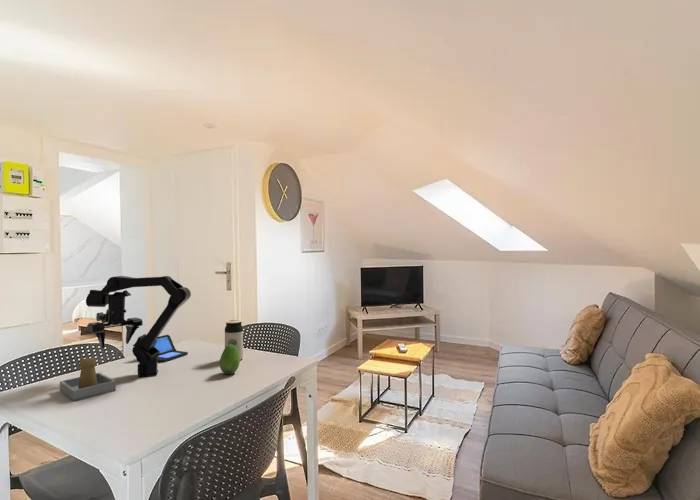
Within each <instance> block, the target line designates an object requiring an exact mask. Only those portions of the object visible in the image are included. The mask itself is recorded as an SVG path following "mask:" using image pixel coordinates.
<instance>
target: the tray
mask: <svg viewBox="0 0 700 500" xmlns="http://www.w3.org/2000/svg"><path fill="white" fill-rule="evenodd" d="M96 378H97V384H98V385H94V386H90V387H86V388H81V389H78V386H79V380H80V376H77V377H73V378H68V379H63V380H59V392H60V393H62V394H63V395H64V396H66V397H67V398H68V399H69V400H71V401H72V402H78V401H80V400H81V401H82V400H86V399H88V398H89V399H90V398H93V397H97V396H100V395H105V394H108V393H113V392H115V391H116V380H115V379H113V378H111V377H109V376H107V375H106V374H104V373H102V372H100V371H99V372H96Z"/></svg>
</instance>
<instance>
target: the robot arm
mask: <svg viewBox="0 0 700 500" xmlns="http://www.w3.org/2000/svg"><path fill="white" fill-rule="evenodd" d="M141 287H142V288H144V287H145V288H146V287H163V289H164V290H165V292H166V293H167V294H168V295H169V298H168V302H167V305H166V307H165V308H164V309H163V310H162V312H161V313H160V315H159V316H158V318H157V319H156V321H155V323H153V325H152V327H151V328H150V329H149V330H148V332H147V333H144V334H142V335H140V336H138V338H137V339H136V341H135V343H134V344H132V350H131V351H132V354H133V356H134V357H135V359H136V360H137V363H138V364H137V375H138V378H146V377H147V378H148V377H155V376H157V375H158V373H159V369H158V362H157V357H158V356H159V353H160V351H159V350H158V349H157V348H155V345H156V342H157V338H158V337H159V336H160V335H161V334H162V333H163V331H164V329H165V328H166V326H167V325H168V323H169V322H170V320H171V319H172V318H173V316H174V315H175V313H176V312H177V310H178V309H180V308H181V307H182V306H183V305H184V304H185V303H186V302H187V301H189V299H190V298H191V296H192V293H191V290H190V289H189V288H188V287H185V286H183V285H182V284H181V283H179V282H178V281H176V280H174V279H173V278H172V277H171V276H169V275H164V276H163V275H162V276H151V277H150V276H149V277H131V276H126V275H118V276H111V277H109V278H108V280H107V281H106V284H105V286H104V287H103V288H102V289H101V290H99V289H90V290H89V293H88V294H87V297H86V298H85V304H86V307H89V308H93V307H94V308H105V307H106V306H107V305H108V306H107V309H106V310H105V311H106V312H105V313H104V312H97V313H96V315H95V316H96V317H95V318H96V322H95V321H94V322H88V323H87V326H86V331H88V332H90V333H92V334H95V336H96V338H97V341H98V343H99V345H100V348H101V349H104V348H105V347H104V346H105V339H106V332H105V331H104V330H105V329H109V328H116V327H117V328H119V327H125V329H126V333H125V344H126V345H128V344H129V343H130V341H131V339H132V338H133V336H134V334H135V332H136V331H137V330H138V329H139V328H140V327H141V326H143V325H144V322H143V319H142V318H140V317H130V318H129V317H128V318H127V319H125V313H127V309H125V307H126V298H128V297H130V296H132V294H131V293H130V292H129V291H128V290H127V289H132V288H141Z"/></svg>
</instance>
